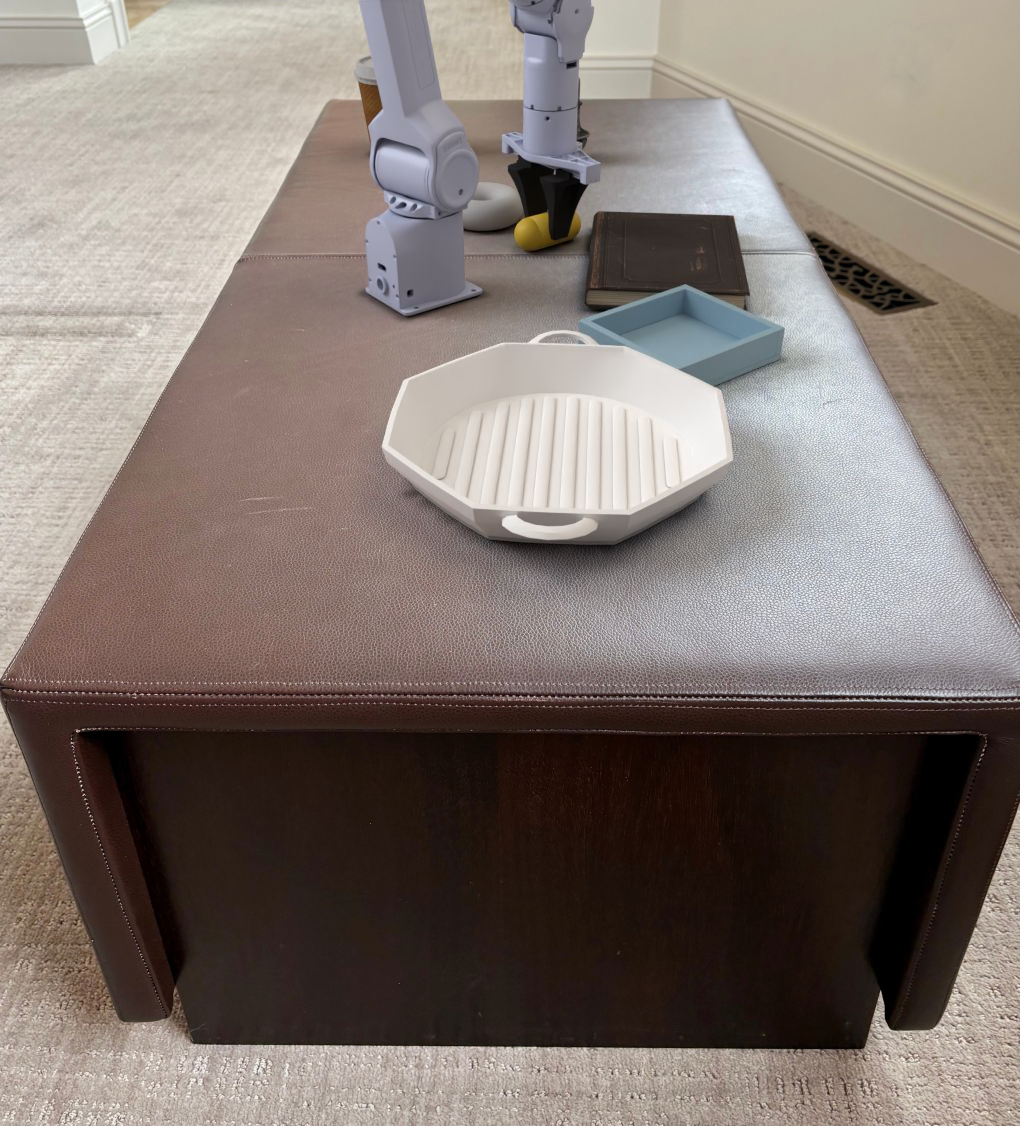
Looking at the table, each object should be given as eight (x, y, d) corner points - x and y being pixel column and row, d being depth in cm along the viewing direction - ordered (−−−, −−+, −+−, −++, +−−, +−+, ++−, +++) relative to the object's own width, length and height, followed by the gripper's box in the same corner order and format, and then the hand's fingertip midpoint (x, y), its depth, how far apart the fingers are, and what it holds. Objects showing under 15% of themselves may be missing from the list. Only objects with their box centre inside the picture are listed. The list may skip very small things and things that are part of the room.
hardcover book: (731, 235, 123) (733, 215, 122) (746, 315, 105) (750, 292, 103) (592, 230, 124) (593, 210, 123) (583, 309, 106) (584, 286, 104)
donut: (521, 237, 123) (528, 206, 131) (521, 208, 121) (528, 178, 128) (435, 234, 124) (447, 204, 131) (433, 205, 121) (446, 176, 129)
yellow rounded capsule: (527, 258, 117) (527, 226, 115) (507, 248, 120) (507, 217, 117) (586, 241, 121) (588, 209, 119) (566, 232, 124) (567, 201, 122)
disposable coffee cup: (350, 149, 150) (342, 57, 143) (412, 140, 153) (407, 49, 146) (376, 168, 143) (368, 72, 136) (440, 157, 147) (436, 63, 139)
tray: (672, 403, 91) (676, 370, 89) (577, 351, 99) (578, 320, 97) (780, 359, 97) (785, 327, 96) (682, 313, 105) (685, 284, 104)
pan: (422, 369, 96) (419, 323, 93) (707, 378, 95) (712, 332, 92) (357, 580, 71) (351, 527, 69) (741, 597, 70) (750, 543, 67)
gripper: (625, 113, 109) (617, 243, 117) (537, 85, 118) (535, 208, 126) (572, 124, 105) (568, 258, 114) (485, 95, 115) (487, 220, 123)
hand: (548, 232), depth 120 cm, fingers closed on yellow rounded capsule, 3 cm apart
